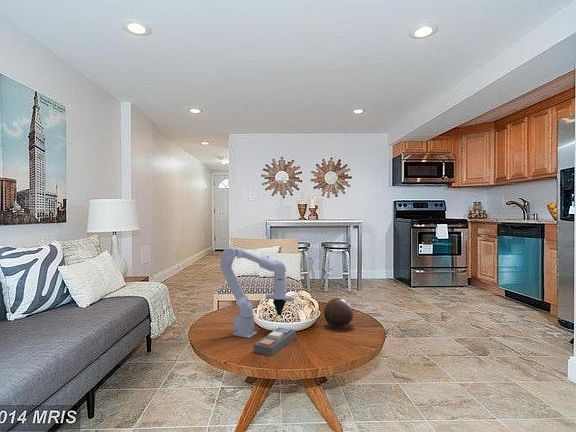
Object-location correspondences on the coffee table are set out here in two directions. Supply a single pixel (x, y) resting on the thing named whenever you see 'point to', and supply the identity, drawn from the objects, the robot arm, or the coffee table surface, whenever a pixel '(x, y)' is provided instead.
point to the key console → (276, 346)
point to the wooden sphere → (338, 313)
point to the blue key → (284, 330)
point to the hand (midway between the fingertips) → (279, 314)
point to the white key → (275, 335)
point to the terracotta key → (267, 342)
